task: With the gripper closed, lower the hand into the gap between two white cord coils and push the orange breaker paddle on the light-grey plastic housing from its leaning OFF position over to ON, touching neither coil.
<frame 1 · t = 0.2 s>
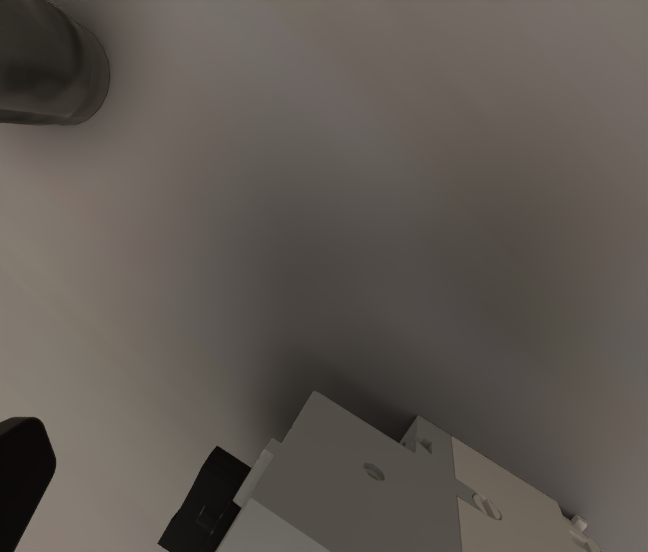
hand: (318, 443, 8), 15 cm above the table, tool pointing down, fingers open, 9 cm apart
circuit breaker: (393, 490, 24), on the table
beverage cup: (67, 75, 24), on the table
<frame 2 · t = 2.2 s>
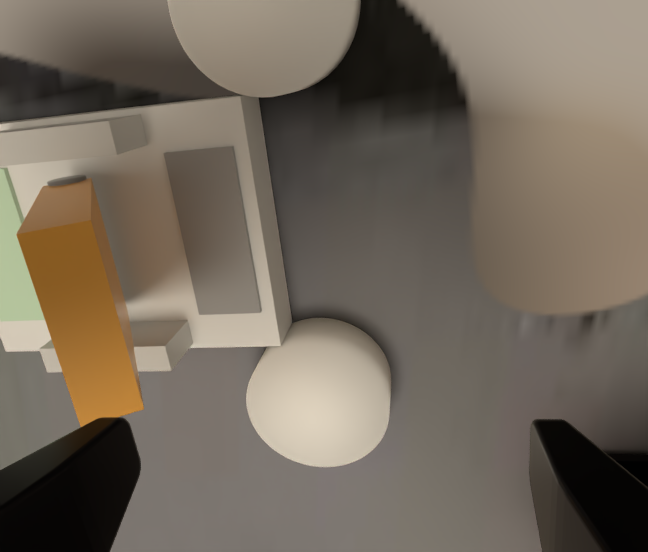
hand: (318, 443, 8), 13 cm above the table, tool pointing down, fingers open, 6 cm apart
cord coil a: (325, 375, 23), on the table
paddle: (87, 280, 16), point 6 cm above the table, hinge at -32.0°
cord coil b: (277, 4, 18), on the table
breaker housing: (133, 226, 22), on the table
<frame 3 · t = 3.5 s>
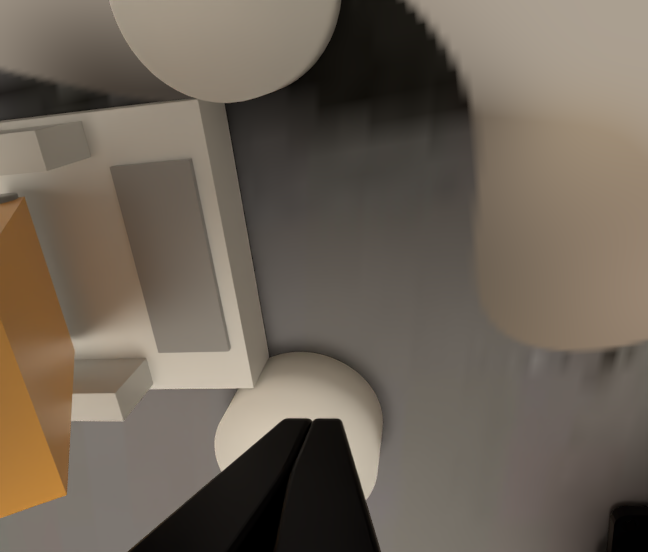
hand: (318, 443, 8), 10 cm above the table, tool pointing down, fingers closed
cord coil a: (308, 415, 20), on the table
paddle: (9, 324, 13), point 6 cm above the table, hinge at -32.0°
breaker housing: (85, 248, 19), on the table
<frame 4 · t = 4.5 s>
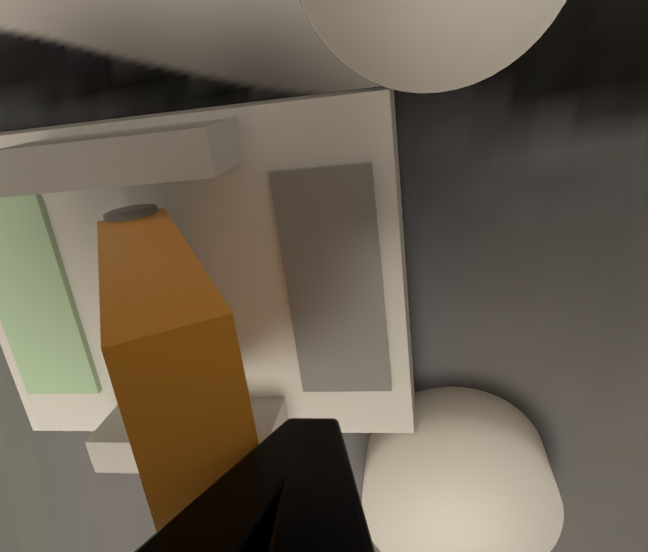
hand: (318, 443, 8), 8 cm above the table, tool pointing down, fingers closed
cord coil a: (453, 457, 17), on the table
paddle: (173, 370, 10), point 6 cm above the table, hinge at -31.9°, touching gripper
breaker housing: (204, 266, 16), on the table
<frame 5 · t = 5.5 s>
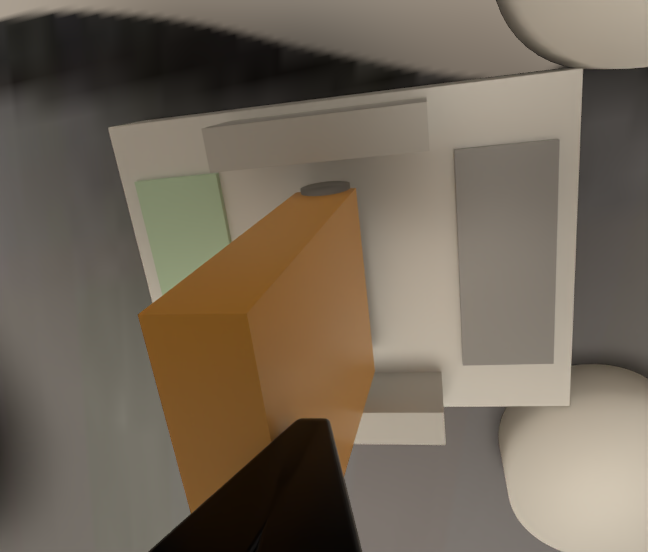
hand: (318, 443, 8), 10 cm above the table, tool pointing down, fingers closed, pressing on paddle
cord coil a: (585, 436, 18), on the table
paddle: (303, 345, 11), point 6 cm above the table, hinge at 4.4°, touching gripper
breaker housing: (352, 247, 17), on the table
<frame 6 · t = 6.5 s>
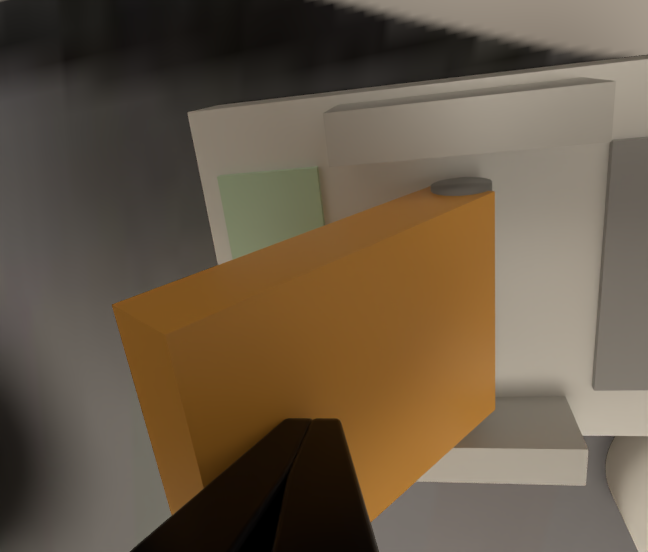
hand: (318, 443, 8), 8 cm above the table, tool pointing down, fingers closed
paddle: (364, 363, 10), point 6 cm above the table, hinge at 37.4°, touching gripper
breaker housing: (454, 252, 15), on the table
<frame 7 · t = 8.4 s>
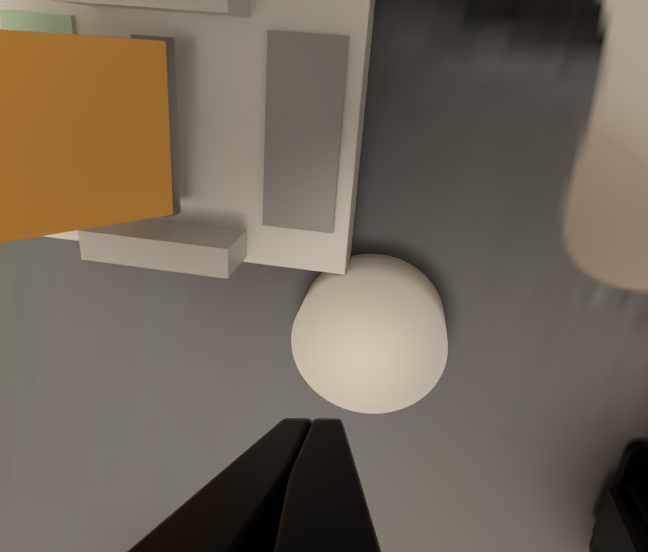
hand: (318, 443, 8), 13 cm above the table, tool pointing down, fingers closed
cord coil a: (372, 318, 21), on the table
paddle: (45, 134, 14), point 6 cm above the table, hinge at 37.5°
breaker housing: (196, 117, 19), on the table
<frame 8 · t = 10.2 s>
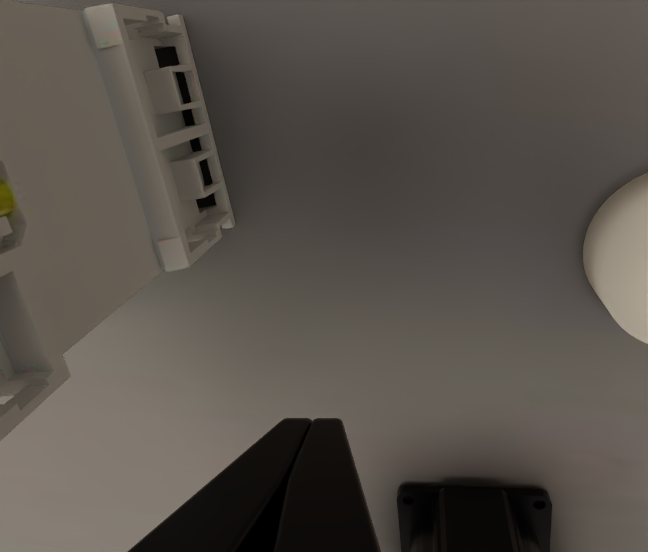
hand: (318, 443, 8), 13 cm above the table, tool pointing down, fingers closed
circuit breaker: (47, 157, 21), on the table
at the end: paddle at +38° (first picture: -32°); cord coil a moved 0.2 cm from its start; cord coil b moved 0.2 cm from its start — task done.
